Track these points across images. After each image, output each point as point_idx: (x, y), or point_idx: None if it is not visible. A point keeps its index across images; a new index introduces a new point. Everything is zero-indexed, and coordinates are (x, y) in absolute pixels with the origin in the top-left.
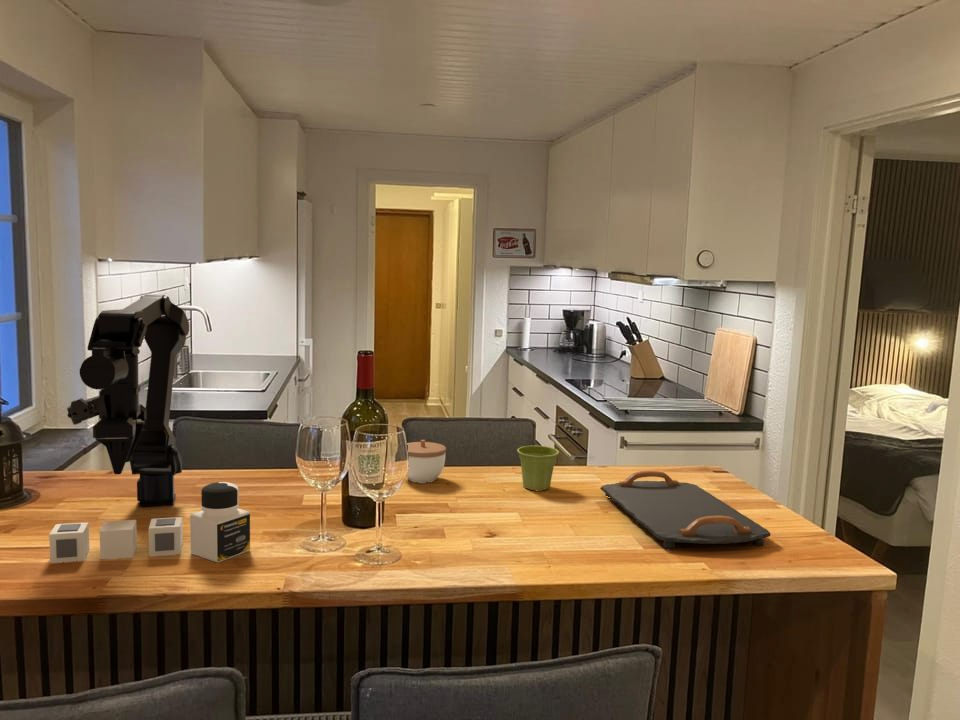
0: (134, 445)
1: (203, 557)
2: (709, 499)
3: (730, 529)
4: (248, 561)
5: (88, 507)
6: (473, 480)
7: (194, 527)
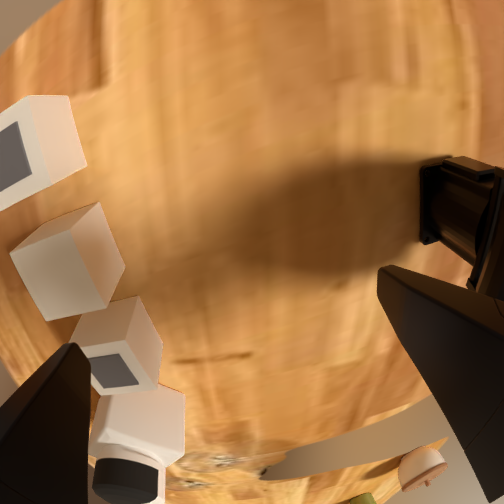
0: (429, 387)
1: None
2: None
3: None
4: None
5: (419, 43)
6: (394, 473)
7: (103, 413)
